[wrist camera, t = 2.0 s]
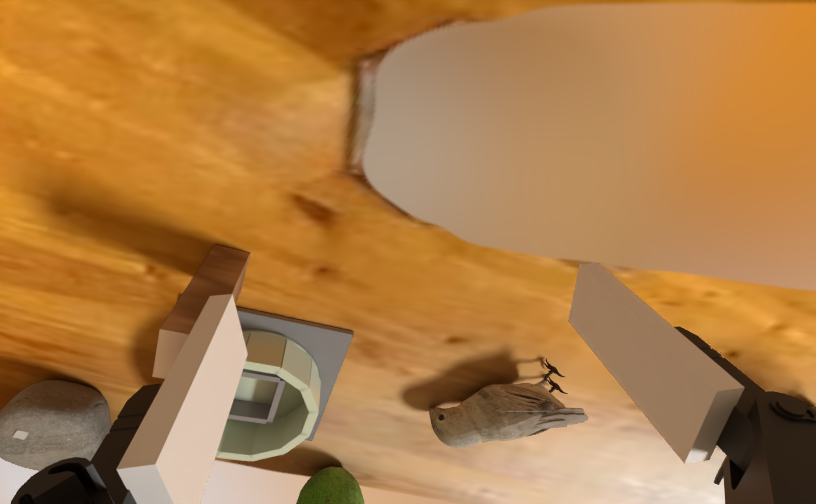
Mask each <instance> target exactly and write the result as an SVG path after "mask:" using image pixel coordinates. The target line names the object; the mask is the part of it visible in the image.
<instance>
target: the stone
mask: <svg viewBox="0 0 816 504" xmlns="http://www.w3.org/2000/svg"><path fill="white" fill-rule="evenodd" d="M110 428H111V420H110V410H109V406H108V403H107V401H106V400H105V398H104V396H103V395H102V394H101V392H99V391H96V390H95V389H92V388H90V387H87V386H84V385H81V384H78V383H74V382H69V381H63V380H42V381H39V382H36V383H34V384H32V385H30V386H28V387H26V388H25V389H23V390H22V391H21V392H19V393H18V394H17V395H16V396H15V397H14V398H12V399H11V400H10V401H9V402H8V403H7V404H6V405H5V406H4V408H3V409H2V410H1V411H0V457H1V458H2V459H4V460H5V461H8V462H11V463H13V464H16V465H18V466H21V467H25V468H29V469H33V470H38V471H41V470H42V469H44V468H45V467H47V466H49V465H51V464H53V463H56V462H58V461H60V460H63V459H68V458H73V457H80V458H87V459H88V460H89V461H91V459H92V458H93V456H94V454H95V453H96V451H97V449H98V448H99V446H100V445H101V443H102V441H103V440H104V438H105V436H106V435H107V434H108V433H109V432H110V431H109V430H110Z"/></svg>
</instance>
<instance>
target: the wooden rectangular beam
mask: <svg viewBox="0 0 816 504" xmlns="http://www.w3.org/2000/svg"><path fill="white" fill-rule="evenodd" d="M249 256H250V253H249V252H245V251H241V250H236V249H232V248H228V247H224V246H220V245H216V244H215V245H214V246H213V248H212V249H211V251H210V252H209V254H208V255H207V257H206V258H205V260H204V261H203V263H202V265H201V266H200V268H199V269H198V271H197V272H196V274H195V275H194V277H193V278H192V280H191V281H190V283H189V285H188V286H187V288H186V289H185V291H184V292H183V294H182V295H181V297H180V298H179V300H178V301H177V303H176V305H175V306H174V308H173V309H172V311H171V312H170V314H169V315H168V317H167V318H166V320H165V321H164V323H163V325H162V326H161V328H160V330H159V337H158V343H157V350H156V356H155V363H154V369H153V376H152V377H157V378H163V379H165V378H166V377H167V375H168V373H169V371H170V369H171V367H172V365H173V364H174V362H175V360H176V358H177V356H178V354H179V352H180V351H181V349H182V347H183V345H184V343H185V341H186V339H187V338H188V336H189V334H190V332H191V330H192V328H193V327H194V325H195V323H196V321H197V319H198V317H199V315H200V314H201V312H202V310H203V308H204V306H205V304H206V302H207V301H208V299H209V297H210V296H216V295H227V294H233V298H234V302H235V304H236V301H237V299H238V296H239V294H240V292H241V289H242V285H243V281H244V277H245V272H246V268H247V264H248V260H249Z"/></svg>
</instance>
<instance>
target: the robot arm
mask: <svg viewBox="0 0 816 504" xmlns="http://www.w3.org/2000/svg"><path fill="white" fill-rule="evenodd" d="M568 321H569V323H570V324H571V325H572V326H573V328H574V329H575V330H576V331H577V332H578V334H579V335H580V336H581V337H582V339H583V340H584V341H585V342H586V343H587V345H588V346H589V347H590V348H591V350H592V351H593V352H594V353H595V355H596V356H597V357H598V358H599V359H600V361H601V362H602V363H603V364H604V366H605V367H606V368H607V369H608V370H609V372H610V373H611V374H612V375H613V377H614V378H615V379H616V380H617V381H618V383H619V384H620V385H621V386H622V388H623V389H624V390H625V391H626V393H627V394H628V395H629V396H630V397H631V399H632V400H633V401H634V402H635V404H636V405H637V406H638V407H639V408H640V410H641V411H642V412H643V413H644V415H645V416H646V417H647V418H648V419H649V421H650V422H651V423H652V424H653V426H654V427H655V428H656V429H657V431H658V432H659V433H660V434H661V435H662V437H663V438H664V439H665V440H666V442H667V443H668V444H669V445H670V446H671V448H672V449H673V450H674V451H675V453H676V454H677V455H678V456H679V457H680V459H681V460H682V461H683V462H684V464H685V463H692V462H698V461H705V460H709V459H710V457H711V455H712V453H713V451H714V449H715V447H716V445H718V446H719V448H720V449H721V450H722V451H723V452H724V453H725V454H726V455H727V456H726V458H725V460H724V462H723V463H722V465H721V467H720V469H719V471H718V473H717V475H716V477H715V481H714V483H715V484H718V485H719V483H720V481H721V480H722V479H723V478H724V489H725V504H816V411H814V410H813V409H812V408H811V407H810V406H808V405H807V404H805V403H803V402H802V401H800V400H798V399H796V398H794V397H791V396H789V395H786V394H782V393H778V392H765V391H764V390H763V389H762V388H760V387H759V386H758V385H757V384H756V383H754V382H753V381H752V380H751V379H749V378H748V377H747V376H746V375H745V374H743V373H742V372H741V371H740V370H738V369H737V368H736V367H735V366H734V365H732V364H731V363H730V362H729V361H727V360H726V359H725V358H722V356H721V355H720V354H719V353H718V352H716V351H715V350H714V349H711V347H710V346H709V345H708V344H707V343H705V342H704V341H703V340H702V339H701V338H699V337H698V336H697V335H695V334H693V333H691V332H689V331H687V330H685V329H683V328H681V327H673V326H672V325H671V324H670V323H668V322H667V321H666V320H665V319H664V318H662V317H661V316H660V315H659V314H658V313H657V312H655V311H654V310H653V309H652V308H651V307H650V306H648V305H647V304H646V303H645V302H644V301H642V300H641V299H640V298H639V297H638V296H637V295H635V294H634V293H633V292H632V291H631V290H630V289H628V288H627V287H626V286H625V285H624V284H623V283H621V282H620V281H619V280H618V279H617V278H615V277H614V276H613V275H612V274H611V273H610V272H608V271H607V270H606V269H605V268H604V267H603V266H601V265H600V264H599V263H588V264H580V266H579V271H578V276H577V281H576V285H575V290H574V295H573V300H572V305H571V310H570V315H569V320H568ZM247 355H248V353H247V349H246V345H245V341H244V337H243V333H242V329H241V325H240V321H239V318H238V314H237V310H236V306H235V302H234V298H233V294H227V295H216V296H210V297H209V299H208V301H207V302H206V304H205V306H204V308H203V310H202V312H201V314H200V315H199V317H198V319H197V321H196V323H195V325H194V327H193V328H192V330H191V332H190V334H189V336H188V338H187V339H186V341H185V343H184V345H183V347H182V349H181V351H180V352H179V354H178V356H177V358H176V360H175V362H174V364H173V365H172V367H171V369H170V371H169V373H168V375H167V377H166V378H165V380H164V382H163V384H155V385H146V386H143V387H142V388H141V389H140V390H139V391H137V392H136V393H135V394H134V395H133V396H132V397H131V398H130V399H129V400H128V401H127V402H126V404H125V405H124V407H123V409H122V410H121V412H120V414H119V415H118V419H117V420H115V422H114V423H113V425H112V427H111V428H110V430H109V431H110V432H109V433H108V434H107V435H106V436H105V438H104V440H103V441H102V443H101V445H100V446H99V448H98V449H97V451H96V453H95V454H94V456H93V458H92V459H91V461H89V460H88V459H87V458H80V457H73V458H68V459H63V460H60V461H58V462H56V463H53V464H51V465H49V466H47V467H45V468H44V469H42V470H41V471H39V472H38V473H36V474H35V475H33V476H32V477H31V478H30V479H29V480H28V481H27V482H26V483H25V484H24V485H22V486H21V488H20V489H19V490H18V491H17V493H16V495H15V496H14V498H13V500H12V501H11V504H201V501H202V498H203V494H204V492H205V488H206V485H207V482H208V479H209V476H210V472H211V469H212V466H213V463H214V460H215V457H216V454H217V450H218V447H219V444H220V441H221V438H222V434H223V431H224V428H225V425H226V422H227V419H228V415H229V412H230V409H231V406H232V403H233V400H234V396H235V393H236V390H237V387H238V384H239V380H240V377H241V374H242V371H243V368H244V365H245V361H246V358H247Z"/></svg>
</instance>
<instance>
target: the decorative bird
mask: <svg viewBox="0 0 816 504" xmlns="http://www.w3.org/2000/svg"><path fill="white" fill-rule="evenodd" d="M546 362H547V359H546ZM547 364H548V366H547V365H546V364H545V365H546V367H547V368H548V369H550V371H548V372H549V373H548V374H546V376H545V378H544V380H542V381H541V382H539V383H537V384H534V385H533V384H530V383H522V384H510V385H506V384H493V385H487V386H485V387H483V388H481V389H480V390H479V391H478V392H476V393H475V394H473V395H472V396H471V397H469V398H467V399H466V400H464V401H463V402H461V404H460V405H459V406H456V407H452V408H446V409H442V408H434V407H431V408H430V410H429V415H430V419H431V424H432V428H433V430H434V432H435V434H436V435H437V437H438V438H439V439H440V440H441V441H442V442H443V443H444V444H446V445H448V446H450V447H454V448H464V447H469V446H473V445H476V444H479V443H481V442H487V441H496V440H499V441H505V440H513V439H517V438H521V437H527V436H532V435H536V434H539V433H542V432H544V431H546V430H548V429H550V428H559V427H567V425H572V424H577V423H583V422H585V421H587V420H588V416H587V415H584V410H583V409H582V408H565V406H564V405H563V404H562V403H561V402H560V401H559V400H558V399H556V398H555V397H554V396H553V395H552V394H551V392H553V391H554V390H555V389H556V390H559V391H560V392H561V393H564V394H568V393H565V392H563V391H562V390H561V389H560V387H559V385H558V384H557V383H554V382H553V381H552V380H551V379H550V377H549V375H551V374H552V373H555V374H557V375H558V376H561V377H565V376H562V375H561V374H559V373H558V371H557V369H556V368H555V367H553V366H551V365H550V364H549V363H548V362H547ZM548 377H549V380H550V382H549V381H548V380H547V378H548ZM546 381H548V382H549V384H550V385H552V386H553V387H551V390H549V391H548V390H547V389H546V388H544V385H545V384H546Z"/></svg>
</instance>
